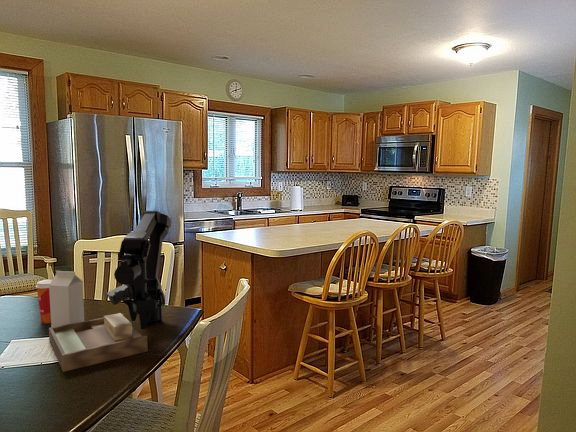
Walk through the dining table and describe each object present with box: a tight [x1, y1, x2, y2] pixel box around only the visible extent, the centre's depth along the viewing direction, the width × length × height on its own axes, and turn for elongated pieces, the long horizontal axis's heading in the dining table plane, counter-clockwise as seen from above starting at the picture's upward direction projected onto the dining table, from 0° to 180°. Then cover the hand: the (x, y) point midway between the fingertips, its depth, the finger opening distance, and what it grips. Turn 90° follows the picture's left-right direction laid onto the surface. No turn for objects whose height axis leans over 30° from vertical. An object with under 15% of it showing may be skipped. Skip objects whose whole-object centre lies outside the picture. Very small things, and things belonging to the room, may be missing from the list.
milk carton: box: [49, 270, 85, 328], centre depth 142 cm, size 7×7×19 cm
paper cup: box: [35, 278, 53, 324], centre depth 148 cm, size 8×8×14 cm
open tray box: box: [48, 313, 149, 373], centre depth 127 cm, size 22×24×4 cm
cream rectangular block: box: [103, 312, 133, 340], centre depth 130 cm, size 5×12×4 cm, turn 37°
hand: (138, 325), depth 134 cm, fingers open, 9 cm apart
